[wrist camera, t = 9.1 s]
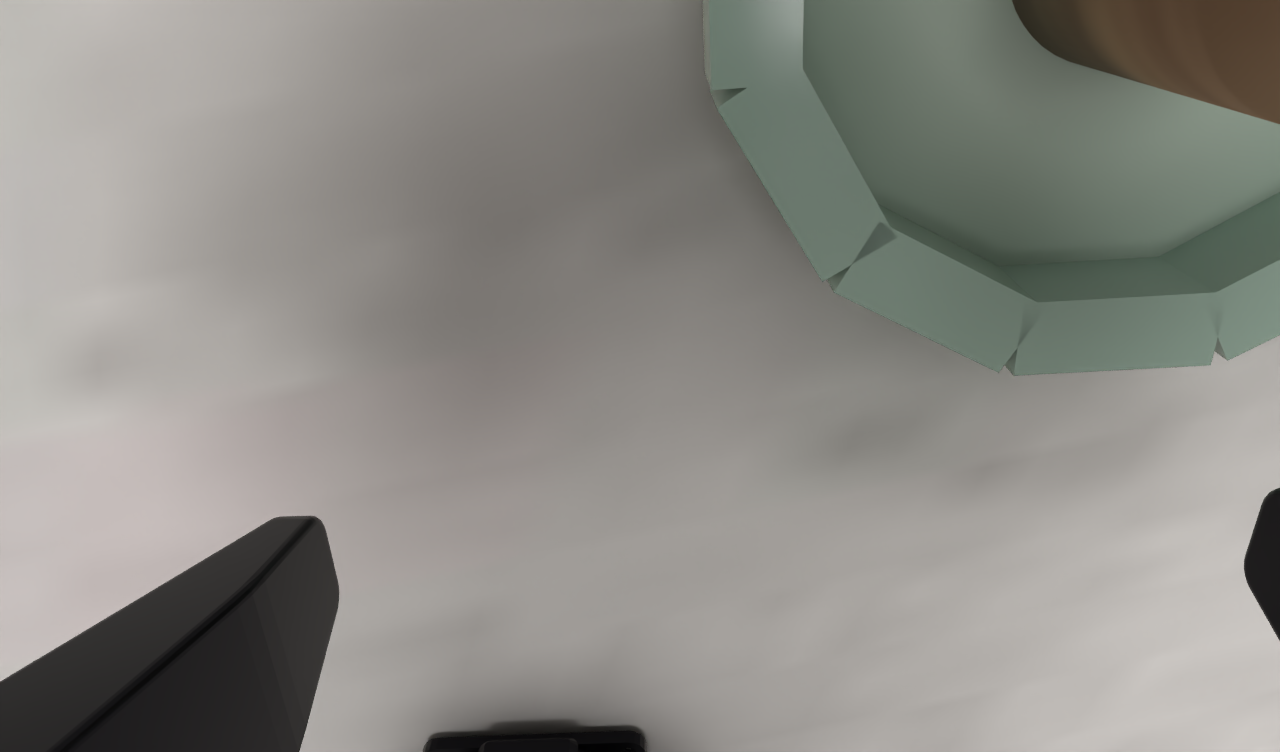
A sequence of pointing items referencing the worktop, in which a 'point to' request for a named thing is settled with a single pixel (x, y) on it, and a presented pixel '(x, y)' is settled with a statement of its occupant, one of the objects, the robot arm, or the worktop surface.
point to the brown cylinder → (1171, 45)
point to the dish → (1002, 184)
